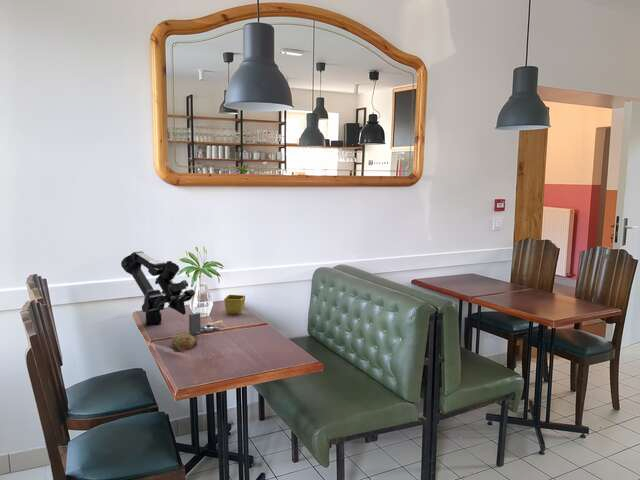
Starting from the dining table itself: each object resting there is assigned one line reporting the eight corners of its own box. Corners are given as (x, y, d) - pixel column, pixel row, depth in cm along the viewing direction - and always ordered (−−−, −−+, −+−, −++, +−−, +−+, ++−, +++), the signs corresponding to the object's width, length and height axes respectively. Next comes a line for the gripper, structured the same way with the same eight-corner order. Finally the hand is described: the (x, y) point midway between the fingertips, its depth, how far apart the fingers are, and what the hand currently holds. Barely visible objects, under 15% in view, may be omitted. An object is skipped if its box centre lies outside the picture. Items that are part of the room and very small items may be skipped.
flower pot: (245, 312, 256) (245, 295, 255) (241, 317, 248) (241, 299, 246) (228, 311, 257) (228, 294, 256) (224, 316, 249) (223, 298, 247)
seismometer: (215, 322, 234) (215, 304, 232) (229, 326, 229) (229, 307, 227) (183, 333, 218) (183, 313, 217) (197, 337, 213) (197, 316, 212)
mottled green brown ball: (169, 358, 203) (163, 343, 199) (183, 340, 211) (177, 326, 207) (190, 361, 200) (184, 346, 195) (203, 343, 208) (198, 329, 203)
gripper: (158, 278, 213) (175, 308, 209) (192, 271, 228) (209, 299, 224) (147, 293, 219) (164, 323, 214) (181, 286, 234) (197, 313, 229)
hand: (184, 314), depth 220 cm, fingers closed
